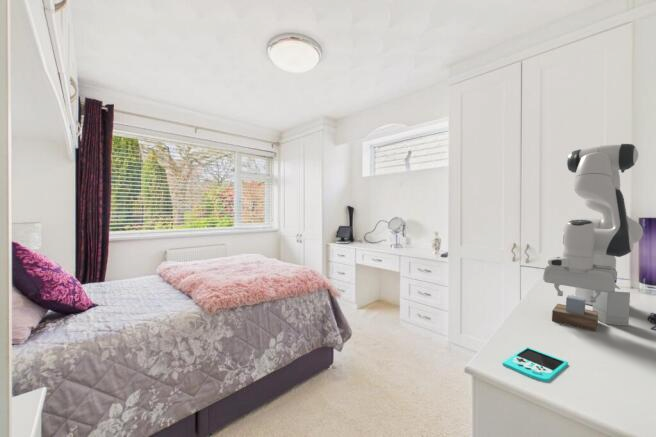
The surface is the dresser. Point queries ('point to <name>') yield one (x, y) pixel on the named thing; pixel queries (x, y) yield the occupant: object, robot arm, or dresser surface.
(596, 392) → the dresser surface
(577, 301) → the slate block
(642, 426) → the dresser surface
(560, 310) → the walnut base
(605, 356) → the dresser surface
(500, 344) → the dresser surface
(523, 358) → the handheld game console
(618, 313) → the supplement box
